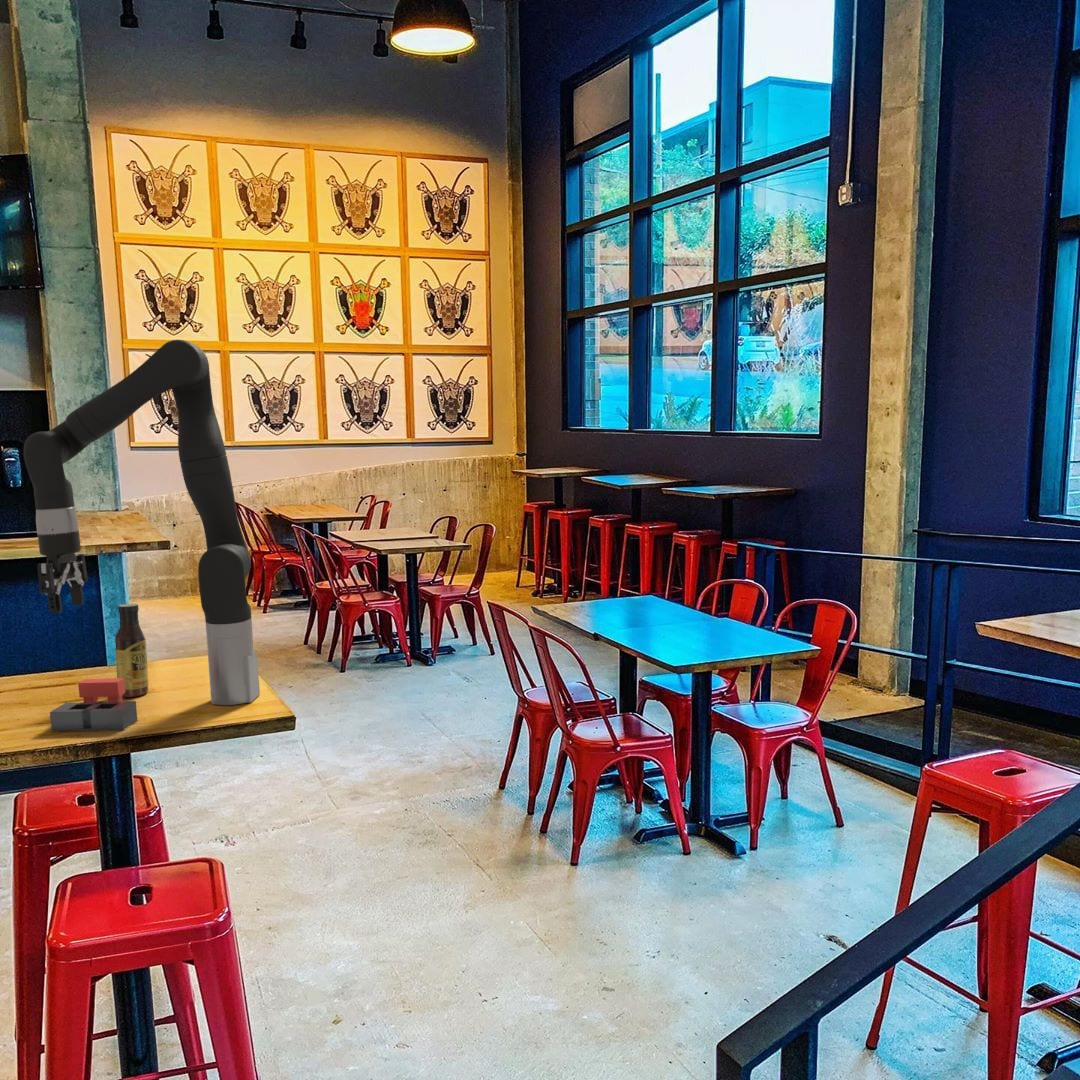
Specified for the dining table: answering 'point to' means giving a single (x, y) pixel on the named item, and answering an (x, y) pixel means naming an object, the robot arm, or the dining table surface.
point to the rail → (93, 716)
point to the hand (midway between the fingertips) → (67, 608)
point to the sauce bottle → (131, 652)
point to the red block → (102, 689)
